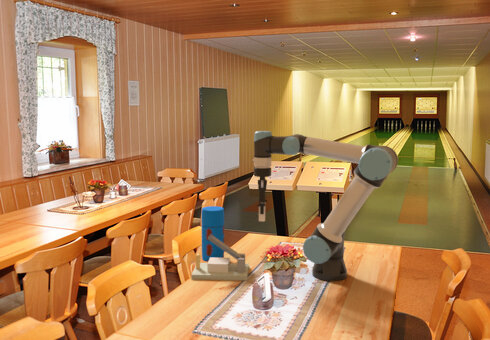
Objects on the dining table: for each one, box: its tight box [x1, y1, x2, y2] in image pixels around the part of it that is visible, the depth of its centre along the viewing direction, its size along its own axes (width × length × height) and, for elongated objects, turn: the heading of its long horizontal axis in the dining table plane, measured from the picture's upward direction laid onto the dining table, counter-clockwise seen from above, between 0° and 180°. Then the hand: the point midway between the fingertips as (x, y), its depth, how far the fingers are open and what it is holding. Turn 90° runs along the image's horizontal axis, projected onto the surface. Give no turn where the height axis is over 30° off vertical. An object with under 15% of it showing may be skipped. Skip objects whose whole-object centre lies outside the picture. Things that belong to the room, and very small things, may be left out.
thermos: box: [201, 205, 225, 263], centre depth 235 cm, size 11×11×25 cm
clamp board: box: [190, 253, 250, 281], centre depth 216 cm, size 24×16×8 cm, turn 87°
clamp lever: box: [208, 234, 244, 260], centre depth 215 cm, size 18×4×2 cm
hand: (262, 218), depth 212 cm, fingers open, 8 cm apart
